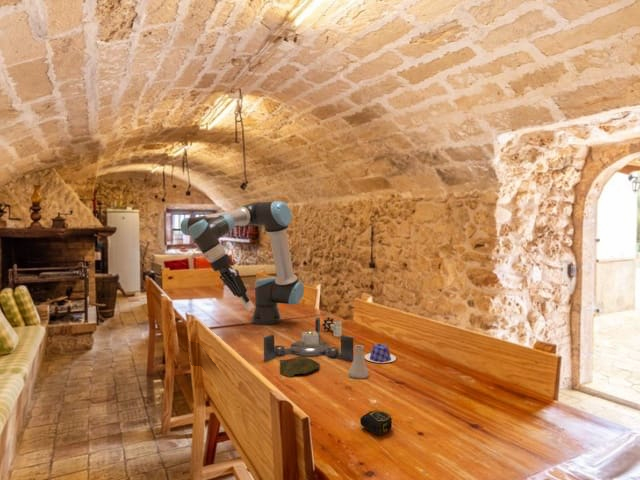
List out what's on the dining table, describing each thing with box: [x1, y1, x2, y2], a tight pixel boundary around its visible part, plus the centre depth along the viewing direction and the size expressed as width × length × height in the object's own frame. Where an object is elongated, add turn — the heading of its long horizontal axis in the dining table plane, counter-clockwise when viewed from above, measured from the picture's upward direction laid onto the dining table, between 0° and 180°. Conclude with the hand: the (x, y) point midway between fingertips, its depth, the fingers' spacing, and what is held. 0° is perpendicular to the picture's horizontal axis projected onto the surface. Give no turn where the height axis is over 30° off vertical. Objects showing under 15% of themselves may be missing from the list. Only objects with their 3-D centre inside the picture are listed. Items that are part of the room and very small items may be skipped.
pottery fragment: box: [279, 356, 321, 379], centre depth 143 cm, size 14×14×4 cm
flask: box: [348, 344, 370, 379], centre depth 138 cm, size 7×7×10 cm
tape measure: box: [359, 410, 393, 437], centre depth 101 cm, size 7×7×4 cm
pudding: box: [364, 343, 397, 364], centre depth 155 cm, size 12×12×5 cm
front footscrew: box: [263, 334, 286, 362], centre depth 157 cm, size 11×4×9 cm, turn 151°
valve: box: [321, 316, 343, 338], centre depth 190 cm, size 7×7×12 cm
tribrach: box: [285, 316, 354, 363], centre depth 167 cm, size 36×25×9 cm
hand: (251, 308), depth 157 cm, fingers closed
